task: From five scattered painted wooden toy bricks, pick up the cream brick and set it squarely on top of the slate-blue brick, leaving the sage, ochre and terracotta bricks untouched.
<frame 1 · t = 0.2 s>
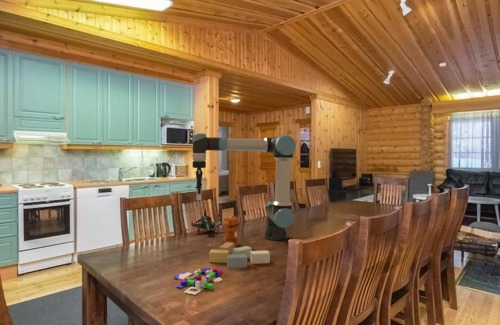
hand: (198, 198, 177), 28 cm above the table, fingers open, 13 cm apart
sage brick: (241, 258, 161), on the table
orange lumpy upright piece: (231, 245, 182), on the table
building block set: (196, 281, 132), on the table
terracotta brick: (226, 254, 167), on the table
ochre brick: (219, 261, 156), on the table
cream brick: (259, 262, 156), on the table
airplane toy: (206, 233, 208), on the table
slate brick: (237, 266, 150), on the table
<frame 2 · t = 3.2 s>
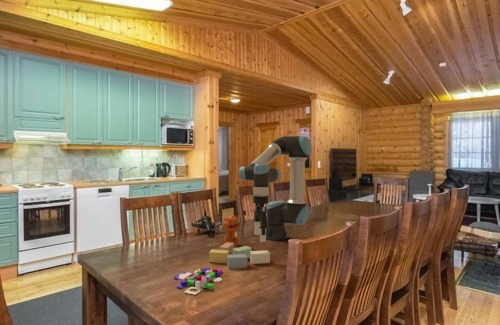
hand: (259, 238, 155), 12 cm above the table, fingers open, 13 cm apart
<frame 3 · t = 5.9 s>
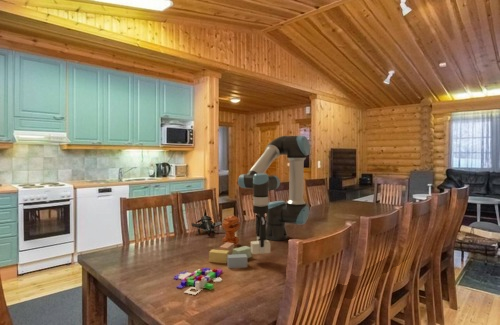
hand: (260, 250, 156), 5 cm above the table, fingers closed on cream brick, 5 cm apart
cream brick: (260, 252, 156), point 5 cm above the table, touching gripper
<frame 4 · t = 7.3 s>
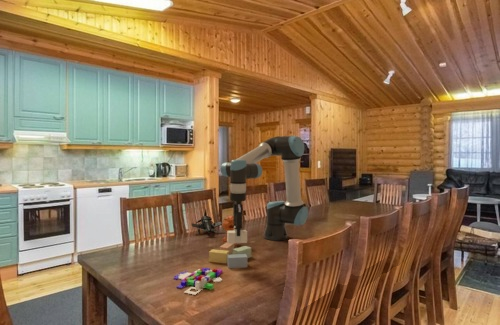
hand: (237, 240, 149), 12 cm above the table, fingers closed on cream brick, 5 cm apart
cream brick: (237, 241, 149), point 12 cm above the table, touching gripper
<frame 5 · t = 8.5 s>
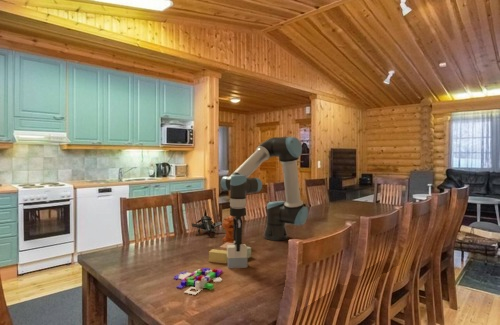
hand: (236, 255, 149), 5 cm above the table, fingers closed on cream brick, 4 cm apart
cream brick: (236, 256, 149), point 5 cm above the table, touching gripper, slate brick
slate brick: (237, 266, 149), on the table, touching cream brick, gripper
when the fingers open (5 cm above the table, at t = 8.9 s): cream brick stays where it is, resting on slate brick.
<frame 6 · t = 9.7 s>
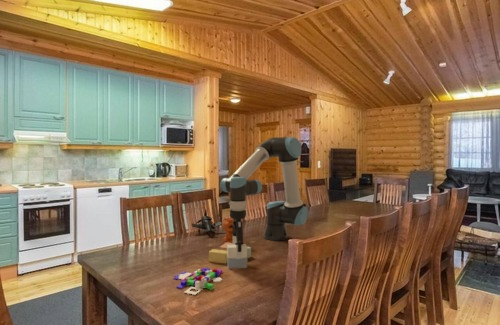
hand: (237, 253, 149), 6 cm above the table, fingers open, 13 cm apart
cream brick: (236, 256, 148), point 5 cm above the table, touching slate brick
slate brick: (237, 266, 149), on the table, touching cream brick
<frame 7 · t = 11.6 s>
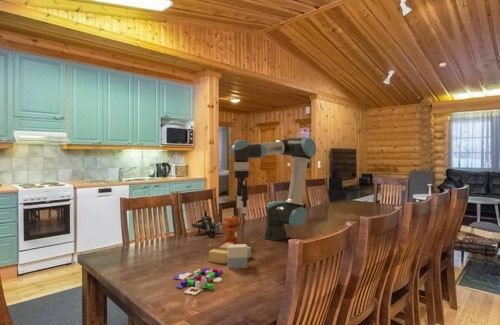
hand: (242, 210, 164), 24 cm above the table, fingers open, 13 cm apart
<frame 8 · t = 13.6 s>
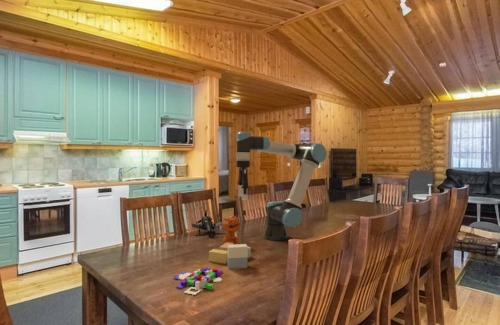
hand: (242, 198, 173), 29 cm above the table, fingers open, 13 cm apart
at the end: cream brick 0.1 cm off-centre on the slate brick, point 5.0 cm above the slate brick's base; sage brick moved 0.2 cm from its start; ochre brick moved 0.2 cm from its start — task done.
